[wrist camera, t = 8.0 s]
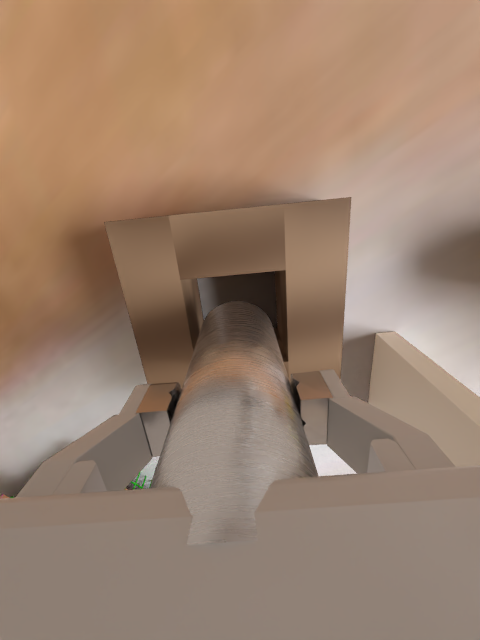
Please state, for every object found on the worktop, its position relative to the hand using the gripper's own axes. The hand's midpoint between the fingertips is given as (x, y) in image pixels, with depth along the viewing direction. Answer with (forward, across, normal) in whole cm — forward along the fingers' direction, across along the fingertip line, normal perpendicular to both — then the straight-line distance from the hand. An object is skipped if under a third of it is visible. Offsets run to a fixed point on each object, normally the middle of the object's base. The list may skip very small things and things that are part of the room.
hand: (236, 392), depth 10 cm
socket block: (+11, 0, 0) cm, 11 cm away
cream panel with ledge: (+11, -6, +7) cm, 14 cm away
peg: (+5, 0, 0) cm, 5 cm away
